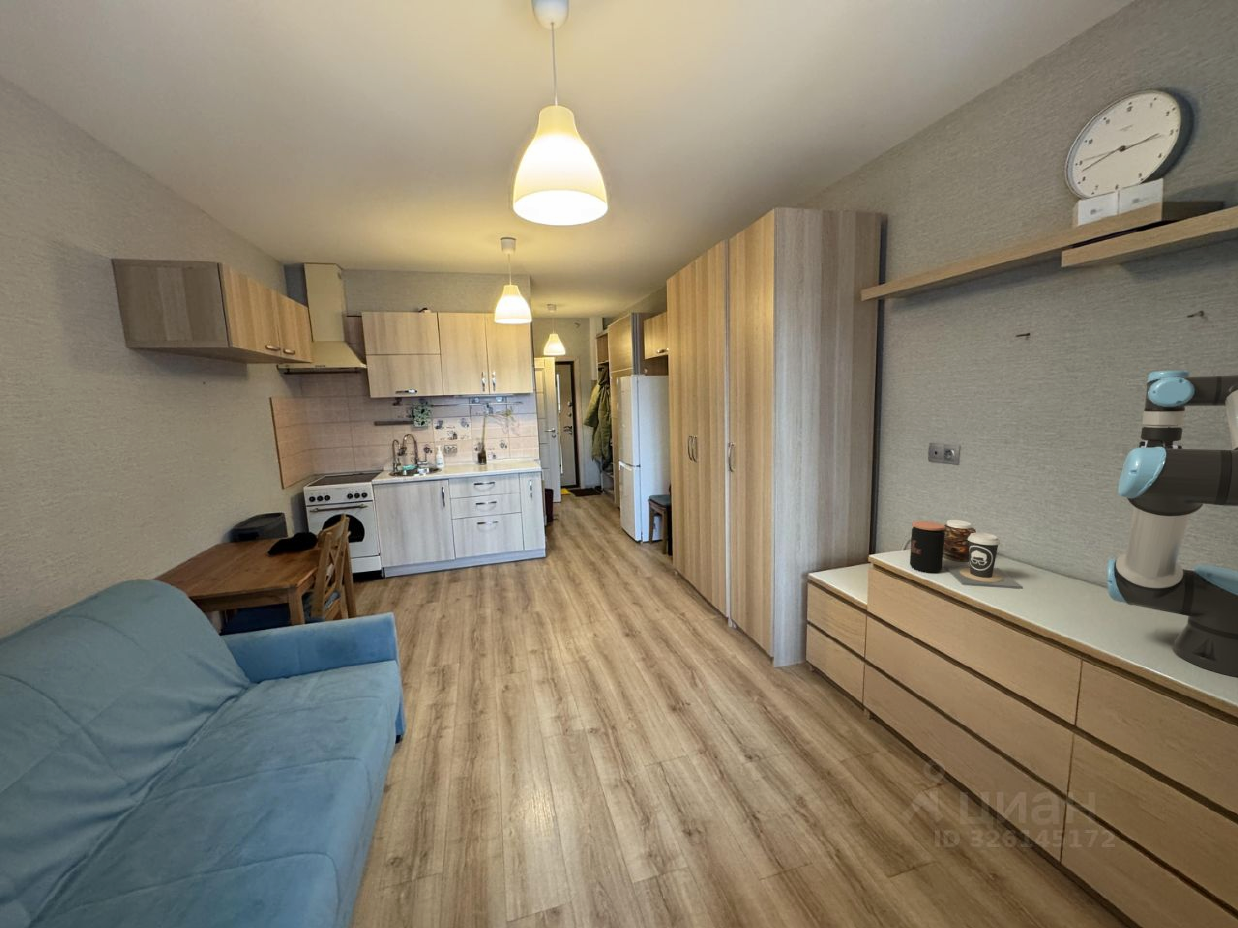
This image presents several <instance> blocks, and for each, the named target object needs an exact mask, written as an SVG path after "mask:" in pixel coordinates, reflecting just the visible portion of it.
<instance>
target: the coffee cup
mask: <svg viewBox="0 0 1238 928" xmlns="http://www.w3.org/2000/svg"><path fill="white" fill-rule="evenodd" d="M968 541H969V552H970V562H969V567H970V573H971V574H972V575H974V576H977V577H982V578H991V577H992V575H993V570H994V568H995V565H996V564H995V563H996V559H997V554H998V549H999V545H1001V541H1000V539H999V537H998V536H996V535H995V534H991V533H985V532H976V533H971V535H970V536H969V537H968Z"/></svg>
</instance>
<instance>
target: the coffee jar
mask: <svg viewBox="0 0 1238 928" xmlns="http://www.w3.org/2000/svg"><path fill="white" fill-rule="evenodd" d="M944 525H945V524H942V523H939V522H935V521H928V520H927V521H926V520H917V521H915V520H914V521H913V522H912V526H913V527H912V528H911V540H910V541H911V542H910V557H909V558H910V559H909V565H910V566H911V568H912V569H913V568H914V569H913V570H915V571H917V570H918V572H920V571H921V572H920V573H925V572H926V573H925V574H938V573H940V572H941V571H942V569H943V562H944V561H943V560H944V558H943V549H944V535H945V532H944V531H943V530H944V529H945V526H944Z"/></svg>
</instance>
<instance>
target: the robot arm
mask: <svg viewBox="0 0 1238 928" xmlns="http://www.w3.org/2000/svg"><path fill="white" fill-rule="evenodd" d="M1147 377H1148V379H1147V381H1146V392H1145V404H1144V411H1143V414H1142V422H1141V423H1142V424H1141V425H1143V426H1144V427H1142V428H1141V433H1140V439H1141V440H1143V441H1139V445H1138V447H1137V448H1133V449H1132V450H1130V451H1129V452H1128V454H1127V455H1126V457H1125V459H1124V463H1123V465H1122V470H1121V474H1120V477H1119V481H1118V495H1119V496H1120V497H1124V498H1126V500H1127V502H1128V503H1129V504H1130V505H1131V506H1132V507H1133V511H1132V515H1131V523H1130V527H1129V528H1130V529H1129V533H1128V534H1129V535H1128V540H1127V545H1126V546H1127V547H1126V552H1124V553H1122V554H1121V555H1119V557H1117V558H1111V559H1109V560H1108V563H1107V571H1106V573H1107V574H1106V576H1107V577H1106V578H1107V591H1108V595H1109V597H1110V599H1112V600H1113V601H1114V602H1119V603H1123V604H1126V605H1128V606H1135V607H1141V608H1144V609H1145V608H1146V609H1151V610H1155V611H1160V612H1166V613H1172V614H1177V615H1183V616H1187V623H1186V625H1185V627H1184V628H1182V630H1181V632H1180V633H1179V634H1178V636H1177V637H1176V638H1175V640H1174V641H1173V646H1172V652H1173V653H1174V654H1175V655H1176V656H1178V658H1181V659H1182V660H1184V661H1185V662H1188V663H1190V664H1192V665H1194V666H1198V667H1200V668H1203V669H1205V670H1209V671H1212V672H1215V673H1219V674H1222V675H1227V676H1232V677H1237V678H1238V571H1236V570H1234V569H1233V570H1232V569H1229V568H1225V567H1224V568H1223V567H1219V566H1215V565H1206V564H1205V565H1204V564H1201V565H1200V564H1199V565H1196V566H1195V567H1193V570H1190V569H1184V568H1182V567H1181V565H1180V563H1178V558H1179V555H1180V550H1181V547H1182V543H1183V539H1184V536H1185V533H1186V528H1187V524H1188V520H1189V516H1190V515H1193V514H1195V513H1196V512H1199V511H1200V510H1201V509H1202V507H1203V505H1214V506H1224V507H1225V506H1227V507H1238V374H1237V375H1235V374H1234V375H1210V376H1209V375H1205V376H1190V372H1189V371H1188V370H1162V371H1158V370H1157V371H1152V372H1151V373H1149V375H1148V376H1147ZM1215 406H1216V407H1225V409H1226V416H1227V421H1228V427H1229V434H1230V442H1231V445H1232V446H1231V447H1232V449H1209V448H1208V449H1204V448H1202V449H1201V448H1199V449H1198V448H1196V449H1195V448H1182V445H1180V444H1178V445H1177V444H1176V445H1174V442H1179V441H1181V440H1182V436H1183V428H1182V425H1184V419H1185V418H1186V416H1187V415H1186V414H1185V411H1186V407H1215Z"/></svg>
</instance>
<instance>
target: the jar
mask: <svg viewBox="0 0 1238 928" xmlns="http://www.w3.org/2000/svg"><path fill="white" fill-rule="evenodd" d="M943 525H944V526H945V529H944V530H943V531H944V532H945V535H944V549H943V559H946V560H949V561H954V562H960V563H970V552H969V541H968V537H969V536H970V535H971V533H977V532H976V531H977V530H976V528H974V527H972V523H971V522H969V521H965V520H961V519H949V520H946V524H943Z"/></svg>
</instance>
